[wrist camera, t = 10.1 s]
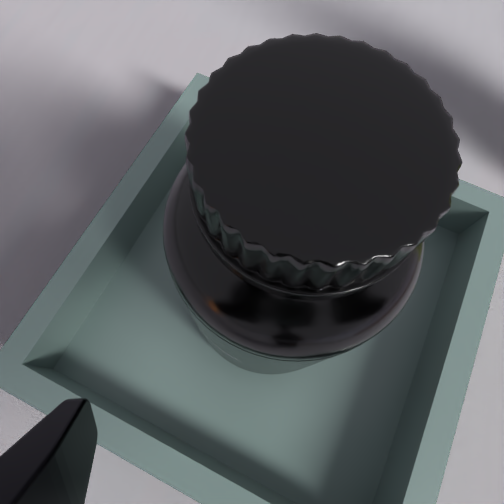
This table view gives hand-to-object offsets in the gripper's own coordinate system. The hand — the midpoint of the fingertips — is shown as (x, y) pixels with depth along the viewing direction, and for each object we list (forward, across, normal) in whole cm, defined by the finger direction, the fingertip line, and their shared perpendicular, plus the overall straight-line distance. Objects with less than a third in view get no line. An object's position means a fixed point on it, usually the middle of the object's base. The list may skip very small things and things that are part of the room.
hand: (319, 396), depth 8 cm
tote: (+10, 0, +4) cm, 11 cm away
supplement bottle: (+10, 0, +4) cm, 10 cm away
